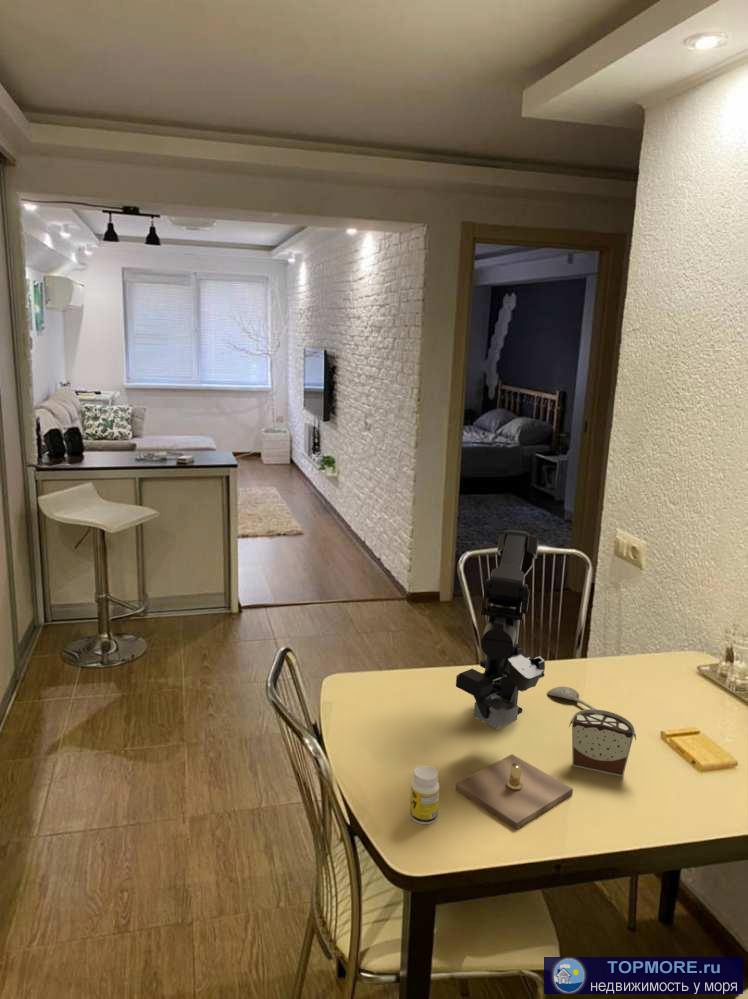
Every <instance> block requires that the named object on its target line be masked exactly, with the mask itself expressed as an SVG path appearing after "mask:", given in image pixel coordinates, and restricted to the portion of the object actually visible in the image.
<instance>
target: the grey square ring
mask: <svg viewBox="0 0 748 999" xmlns="http://www.w3.org/2000/svg"><path fill="white" fill-rule="evenodd" d="M473 706H474V707H473V717H474V718H476V719H477V720H479V721H481V722H483V723H486V724H487V725H489V726H491V727H492V728H494V729H496V730H498V729H500V728H503V727H505V726H507V725H509V724H511V723H513V722H516V721H517V720H518V714H519V713H518V707H519V705H518V704H517V705H516V704H514V703H512V702H510V701H508V700H506V699H504V698H502V697H500V696H498V695H496V694H494V695H493V696H492V698H491V704H490V711H489V715H488V718H487V719H485V718H483V717H482V715H481V712H480V710H479V708H478V705H477V703H476V701H474V705H473Z"/></svg>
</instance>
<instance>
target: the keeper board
mask: <svg viewBox="0 0 748 999" xmlns="http://www.w3.org/2000/svg"><path fill="white" fill-rule="evenodd" d="M513 763H517V764H519V765H521V775H520V781H521V782H522V789H521V790H518V791H514V790H511V789H509V788H508V787H507V781H508V780H509V779H510V772H511V764H513ZM455 790H456V791H458V792H459V793H460V794H461V795H463V796H464V797H467V798H468V799H470V800H471V801H472V802H474V803H475V804H477V805H478V806H480V807H481V808H483V809H484V810H486V811H488V812H489V813H491V814H492V815H493V816H495V817H497V818H498V819H500V820H501V821H503V822H504V823H506V824H507V825H508V826H510V827H512V828H513V829H514V830H518V829H520V828H522V827H523V826H524V825H526V824H528V823H529V822H531V821H532V820H534V819H535V818H537V817H539V816H540V815H542V814H544V813H545V812H547V811H548V810H550V809H551V808H553V807H554V806H556V805H558V804H560V803H561V802H563V801H564V800H565V799H568V798H570V797H571V796H572V795H573V792H574V788H573V787H571V786H569V785H567V784H566V783H564V782H562V781H560V780H559V779H557V778H555V777H553V776H551V775H550V774H548V773H547V772H545V771H543V770H541V769H539V768H537V767H535V765H532V764H531V763H528V762H527V761H525V760H524V759H521V758H520V757H518V756H516V755H515V754H513V753H511V754H509V755H507V756H506V757H504V758H502V759H500V760H498V761H496V762H495V763H492V764H490V765H489V766H486V767H484V768H483V769H481V770H479V771H477V772H475V773H473V774H471V775H469V776H467V777H465V778H463V779H461V780H460V781H457V782H456V783H455ZM530 820H531V821H530ZM527 822H528V823H527ZM525 823H526V824H525ZM522 825H523V826H522ZM519 827H520V828H519Z"/></svg>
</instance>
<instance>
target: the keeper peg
mask: <svg viewBox="0 0 748 999" xmlns="http://www.w3.org/2000/svg"><path fill="white" fill-rule="evenodd" d="M520 775H521V765H519V764H517V763H513V764H511V772H510V779H509V780H508V781H507V787H508V788H509V789H511V790H514V791H518V790H521V789H522V782H521V781H520Z"/></svg>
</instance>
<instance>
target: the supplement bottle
mask: <svg viewBox="0 0 748 999" xmlns="http://www.w3.org/2000/svg"><path fill="white" fill-rule="evenodd" d="M438 777H439V773H438V770H436V768H434V767H432V766H429V765H421V766H418V767H416V768H415V769H414V773H413V779H412V781H411V784H410V785H411V786H410V787H411V788H410V802H409V803H410V804H409V805H410V806H409V816H410V818H411V819H412V820H413V822H415V823H417V824H420V825H429V824H430V825H431V824H433V823H434V822H436V821H437V819H438V814H439V813H438V812H439V797H440V796H439V795H440V783H439V780H438Z"/></svg>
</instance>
